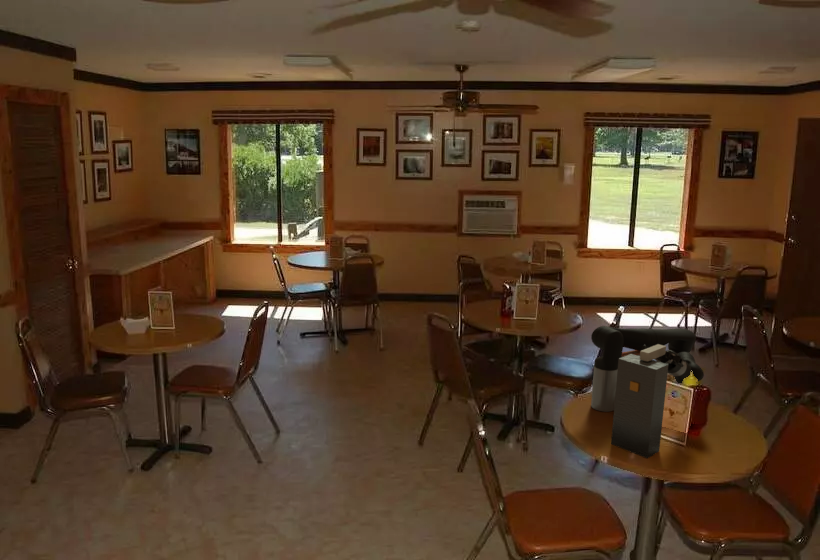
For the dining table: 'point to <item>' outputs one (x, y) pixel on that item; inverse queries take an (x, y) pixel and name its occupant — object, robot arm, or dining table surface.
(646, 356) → the handle
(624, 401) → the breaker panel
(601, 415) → the dining table surface
